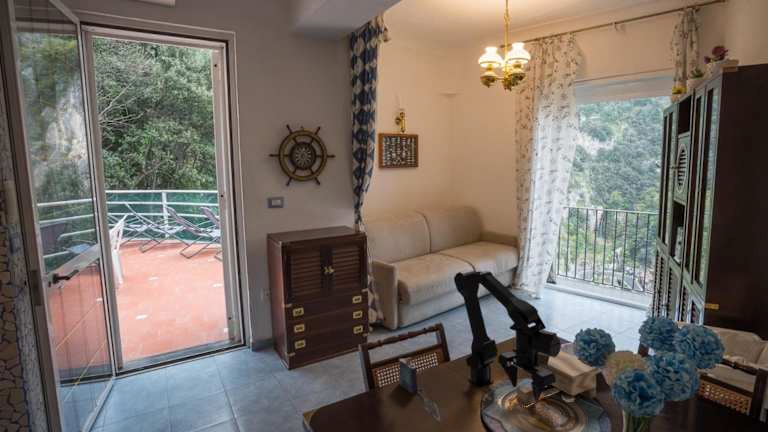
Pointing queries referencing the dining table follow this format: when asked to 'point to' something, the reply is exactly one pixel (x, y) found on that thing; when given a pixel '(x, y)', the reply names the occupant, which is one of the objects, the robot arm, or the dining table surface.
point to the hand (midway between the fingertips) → (525, 393)
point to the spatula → (530, 394)
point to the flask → (408, 375)
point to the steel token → (568, 397)
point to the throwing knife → (426, 404)
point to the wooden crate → (572, 375)
